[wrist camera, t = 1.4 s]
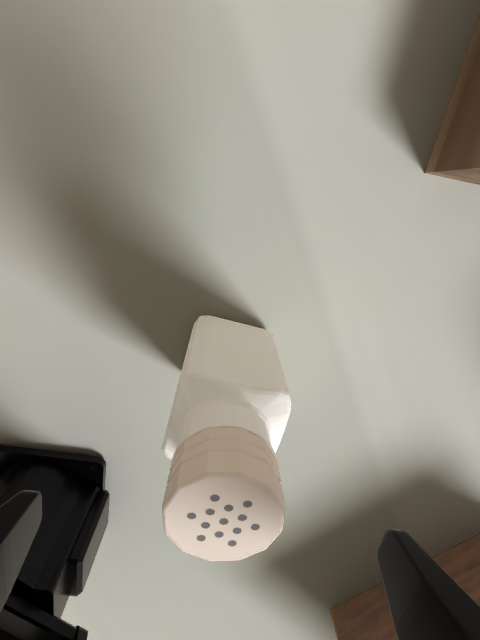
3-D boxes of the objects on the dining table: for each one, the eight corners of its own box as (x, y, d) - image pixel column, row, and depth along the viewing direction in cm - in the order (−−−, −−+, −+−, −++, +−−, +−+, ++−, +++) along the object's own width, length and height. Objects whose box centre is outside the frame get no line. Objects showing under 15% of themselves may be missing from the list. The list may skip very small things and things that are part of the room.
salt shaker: (180, 376, 18) (132, 560, 9) (197, 307, 16) (161, 445, 8) (252, 392, 18) (273, 582, 9) (275, 327, 17) (325, 478, 8)
